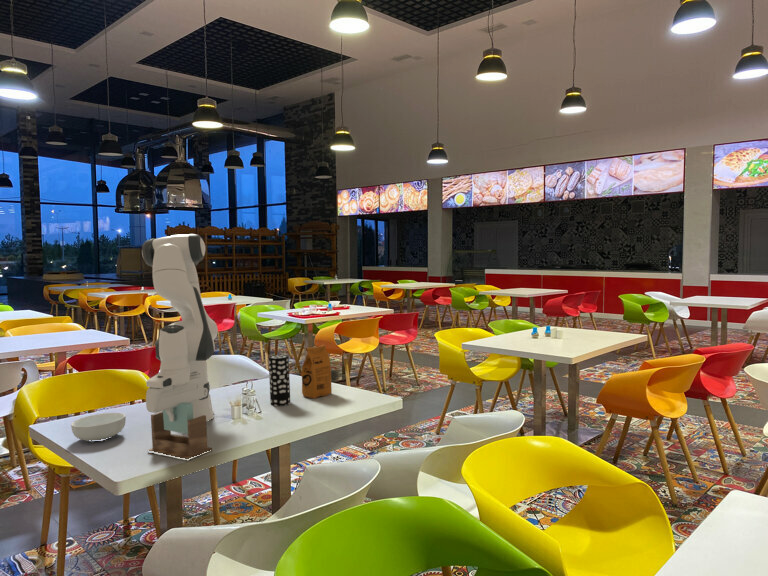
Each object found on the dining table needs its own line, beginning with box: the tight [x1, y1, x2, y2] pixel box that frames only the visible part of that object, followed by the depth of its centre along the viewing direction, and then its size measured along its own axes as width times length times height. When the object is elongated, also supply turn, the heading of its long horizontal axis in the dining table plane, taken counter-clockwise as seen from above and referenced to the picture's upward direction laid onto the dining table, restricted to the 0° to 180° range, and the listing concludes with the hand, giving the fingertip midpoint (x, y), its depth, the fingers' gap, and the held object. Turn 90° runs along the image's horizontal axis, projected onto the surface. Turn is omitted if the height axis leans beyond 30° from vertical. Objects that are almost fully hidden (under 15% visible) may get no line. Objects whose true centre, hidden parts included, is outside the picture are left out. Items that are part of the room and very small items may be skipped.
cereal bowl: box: [70, 412, 127, 442], centre depth 193 cm, size 17×17×7 cm
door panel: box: [163, 402, 193, 435], centre depth 176 cm, size 11×2×9 cm, turn 61°
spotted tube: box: [268, 354, 291, 407], centre depth 233 cm, size 8×8×20 cm
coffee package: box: [301, 344, 333, 399], centre depth 245 cm, size 10×12×22 cm
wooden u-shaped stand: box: [148, 411, 213, 459], centre depth 176 cm, size 18×10×12 cm, turn 61°
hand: (177, 419), depth 176 cm, fingers closed on door panel, 2 cm apart
